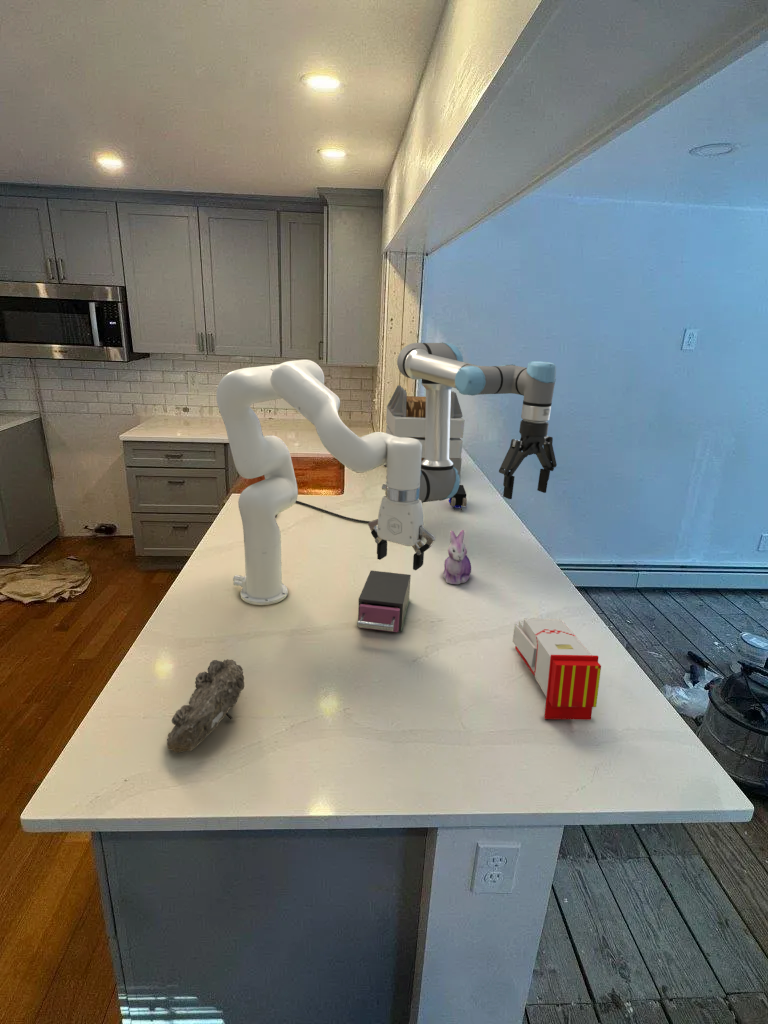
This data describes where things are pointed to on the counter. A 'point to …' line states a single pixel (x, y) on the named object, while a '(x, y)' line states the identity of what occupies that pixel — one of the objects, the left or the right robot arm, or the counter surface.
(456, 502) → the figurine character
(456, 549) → the figurine
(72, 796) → the counter surface
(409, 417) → the white slatted crate
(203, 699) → the fossil
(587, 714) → the toy
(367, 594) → the cabinet
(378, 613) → the drawer
